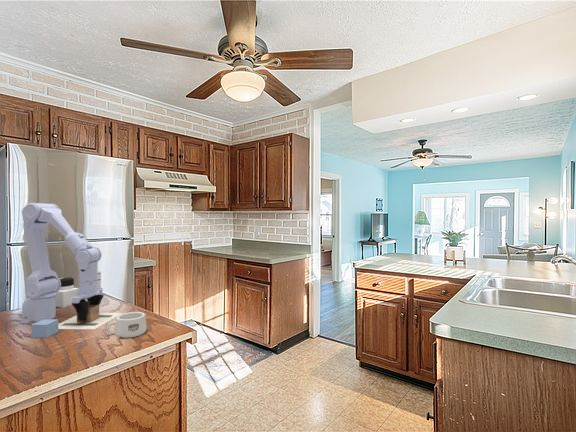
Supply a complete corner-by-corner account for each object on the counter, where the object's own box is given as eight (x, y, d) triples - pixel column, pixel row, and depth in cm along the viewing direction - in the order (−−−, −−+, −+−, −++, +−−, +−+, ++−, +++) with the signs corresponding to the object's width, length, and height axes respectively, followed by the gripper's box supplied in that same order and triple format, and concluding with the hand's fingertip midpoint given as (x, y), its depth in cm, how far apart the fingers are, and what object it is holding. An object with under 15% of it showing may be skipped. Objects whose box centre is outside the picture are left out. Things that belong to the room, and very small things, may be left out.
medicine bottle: (79, 303, 138) (79, 277, 138) (62, 308, 132) (63, 280, 132) (67, 302, 141) (67, 276, 141) (51, 306, 134) (51, 279, 134)
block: (76, 322, 112) (76, 308, 112) (85, 317, 117) (85, 304, 117) (90, 322, 112) (90, 308, 112) (99, 318, 117) (99, 304, 117)
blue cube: (30, 340, 98) (31, 324, 98) (43, 334, 103) (43, 319, 103) (46, 340, 98) (46, 324, 98) (58, 334, 103) (58, 319, 103)
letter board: (47, 331, 105) (47, 328, 105) (82, 314, 123) (82, 312, 123) (94, 331, 105) (94, 329, 105) (122, 314, 123) (122, 312, 123)
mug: (142, 326, 111) (142, 309, 111) (149, 334, 103) (150, 316, 103) (104, 333, 104) (104, 315, 104) (108, 343, 96) (108, 323, 96)
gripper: (86, 285, 107) (86, 324, 107) (110, 276, 122) (110, 311, 122) (66, 284, 107) (65, 324, 107) (92, 276, 122) (92, 311, 122)
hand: (88, 317), depth 114 cm, fingers open, 6 cm apart
